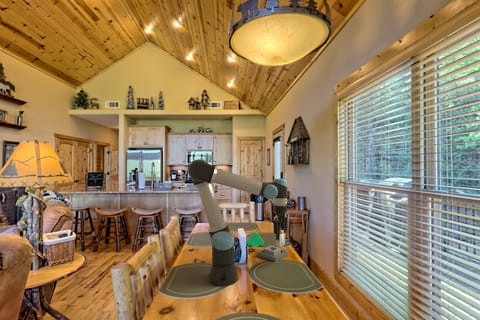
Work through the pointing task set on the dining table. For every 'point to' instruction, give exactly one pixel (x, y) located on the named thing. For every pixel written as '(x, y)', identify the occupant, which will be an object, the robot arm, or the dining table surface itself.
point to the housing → (272, 253)
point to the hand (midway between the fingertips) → (280, 244)
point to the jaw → (281, 239)
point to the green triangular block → (255, 240)
